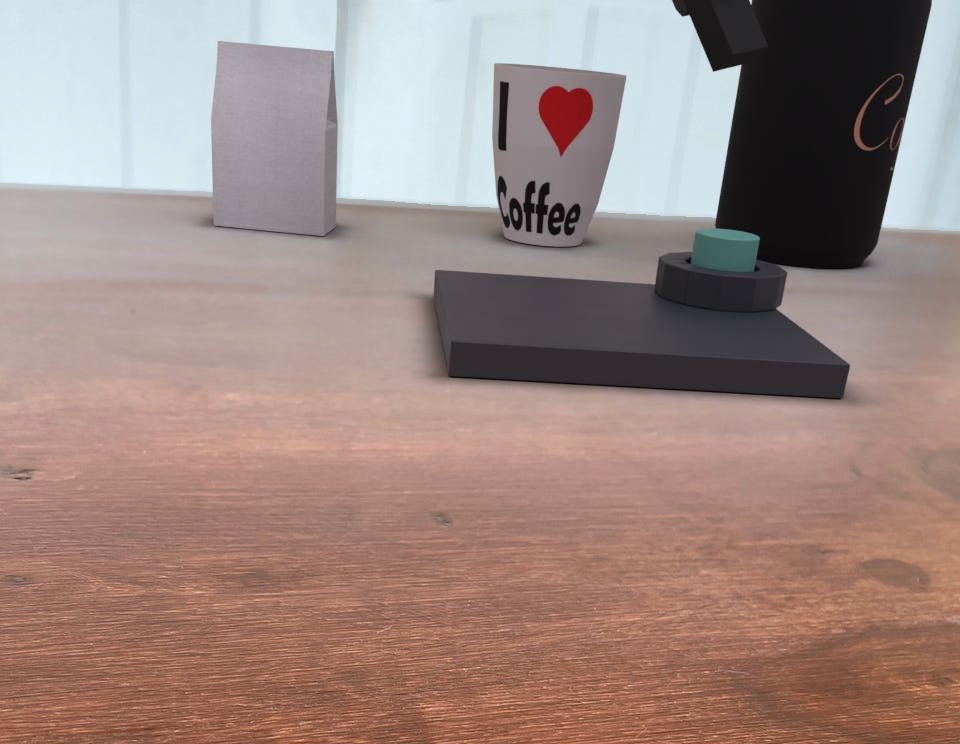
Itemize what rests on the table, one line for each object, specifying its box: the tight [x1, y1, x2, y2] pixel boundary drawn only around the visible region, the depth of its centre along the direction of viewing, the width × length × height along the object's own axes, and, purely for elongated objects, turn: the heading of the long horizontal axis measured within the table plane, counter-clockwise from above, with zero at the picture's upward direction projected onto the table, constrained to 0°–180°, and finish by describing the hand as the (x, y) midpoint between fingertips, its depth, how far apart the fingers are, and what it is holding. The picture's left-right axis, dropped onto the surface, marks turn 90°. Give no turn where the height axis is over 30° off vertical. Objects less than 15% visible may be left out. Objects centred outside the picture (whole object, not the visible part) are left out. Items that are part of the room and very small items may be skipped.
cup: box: [491, 62, 627, 248], centre depth 75 cm, size 8×8×10 cm
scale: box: [433, 251, 851, 399], centre depth 53 cm, size 16×14×3 cm
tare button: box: [691, 227, 760, 272], centre depth 56 cm, size 3×3×2 cm
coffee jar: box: [714, 0, 933, 269], centre depth 75 cm, size 11×11×18 cm
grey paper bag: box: [210, 40, 339, 237], centre depth 71 cm, size 4×7×10 cm, turn 85°
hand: (740, 58), depth 59 cm, fingers closed
